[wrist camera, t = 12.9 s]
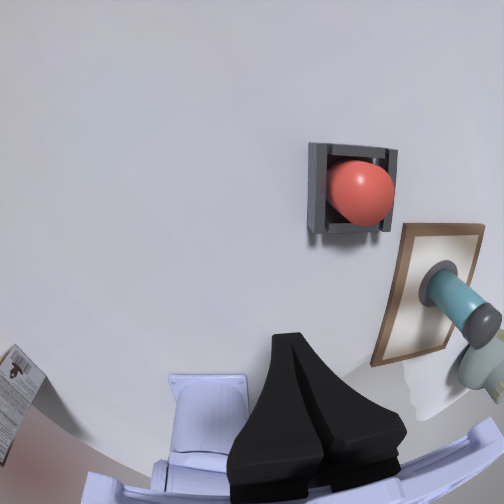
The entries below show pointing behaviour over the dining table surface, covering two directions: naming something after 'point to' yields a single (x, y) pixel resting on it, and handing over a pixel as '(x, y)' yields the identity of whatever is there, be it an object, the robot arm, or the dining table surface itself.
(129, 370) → the dining table surface
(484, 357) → the air freshener
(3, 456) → the coffee box
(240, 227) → the dining table surface
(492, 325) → the marker
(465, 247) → the picture frame
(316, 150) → the button collar
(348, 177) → the button
